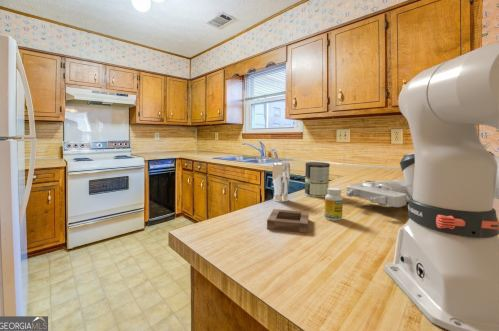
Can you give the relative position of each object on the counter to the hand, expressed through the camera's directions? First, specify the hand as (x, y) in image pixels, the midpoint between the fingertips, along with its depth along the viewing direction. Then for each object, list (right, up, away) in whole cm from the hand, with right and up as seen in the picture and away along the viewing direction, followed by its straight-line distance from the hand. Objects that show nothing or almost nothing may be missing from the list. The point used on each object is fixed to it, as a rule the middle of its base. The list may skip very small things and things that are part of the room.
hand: (359, 197), depth 84 cm
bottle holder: (-26, -7, -10) cm, 28 cm away
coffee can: (-7, -3, +27) cm, 28 cm away
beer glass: (-25, -4, +17) cm, 30 cm away
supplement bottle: (-11, -6, -5) cm, 13 cm away
